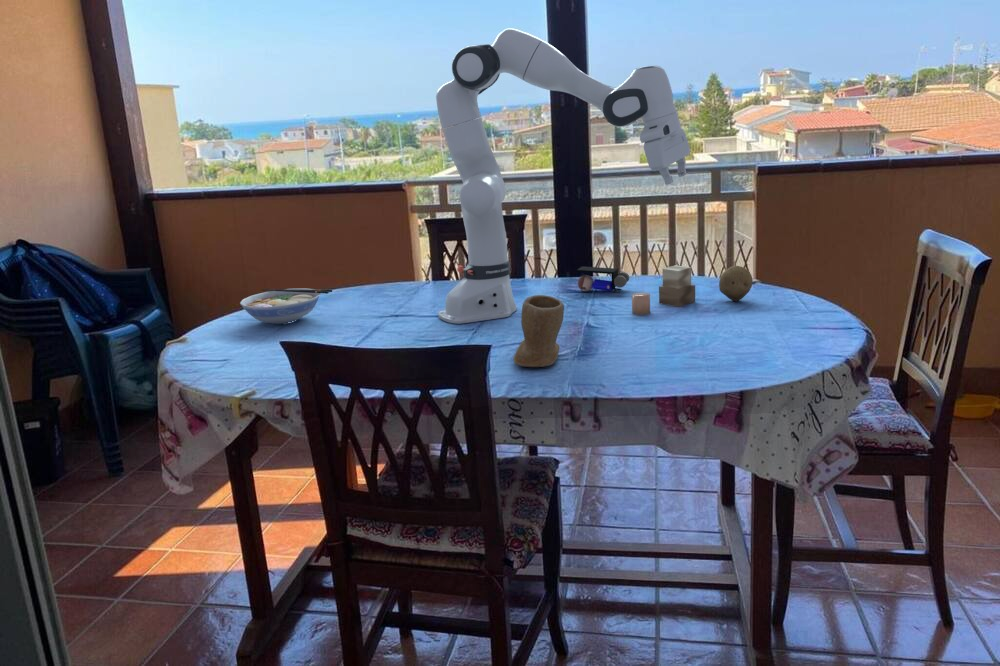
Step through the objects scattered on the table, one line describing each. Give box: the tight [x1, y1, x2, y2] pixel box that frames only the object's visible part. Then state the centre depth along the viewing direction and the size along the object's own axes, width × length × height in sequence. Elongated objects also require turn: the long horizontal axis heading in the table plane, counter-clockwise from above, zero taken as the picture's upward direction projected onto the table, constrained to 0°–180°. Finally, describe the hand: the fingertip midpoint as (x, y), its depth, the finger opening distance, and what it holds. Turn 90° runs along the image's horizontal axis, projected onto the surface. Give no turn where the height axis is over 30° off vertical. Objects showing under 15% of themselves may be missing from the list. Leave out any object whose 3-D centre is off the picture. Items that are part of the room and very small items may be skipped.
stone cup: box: [512, 294, 565, 368], centre depth 182 cm, size 15×12×15 cm
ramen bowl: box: [239, 287, 333, 325], centre depth 234 cm, size 25×23×8 cm
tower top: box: [662, 264, 692, 289], centre depth 223 cm, size 6×6×5 cm
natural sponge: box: [718, 265, 754, 302], centre depth 220 cm, size 9×9×10 cm
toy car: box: [576, 265, 630, 294], centre depth 244 cm, size 7×8×15 cm
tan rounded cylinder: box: [631, 292, 651, 316], centre depth 217 cm, size 5×5×5 cm
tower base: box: [658, 283, 696, 308], centre depth 224 cm, size 7×7×5 cm
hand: (676, 179), depth 212 cm, fingers open, 8 cm apart
